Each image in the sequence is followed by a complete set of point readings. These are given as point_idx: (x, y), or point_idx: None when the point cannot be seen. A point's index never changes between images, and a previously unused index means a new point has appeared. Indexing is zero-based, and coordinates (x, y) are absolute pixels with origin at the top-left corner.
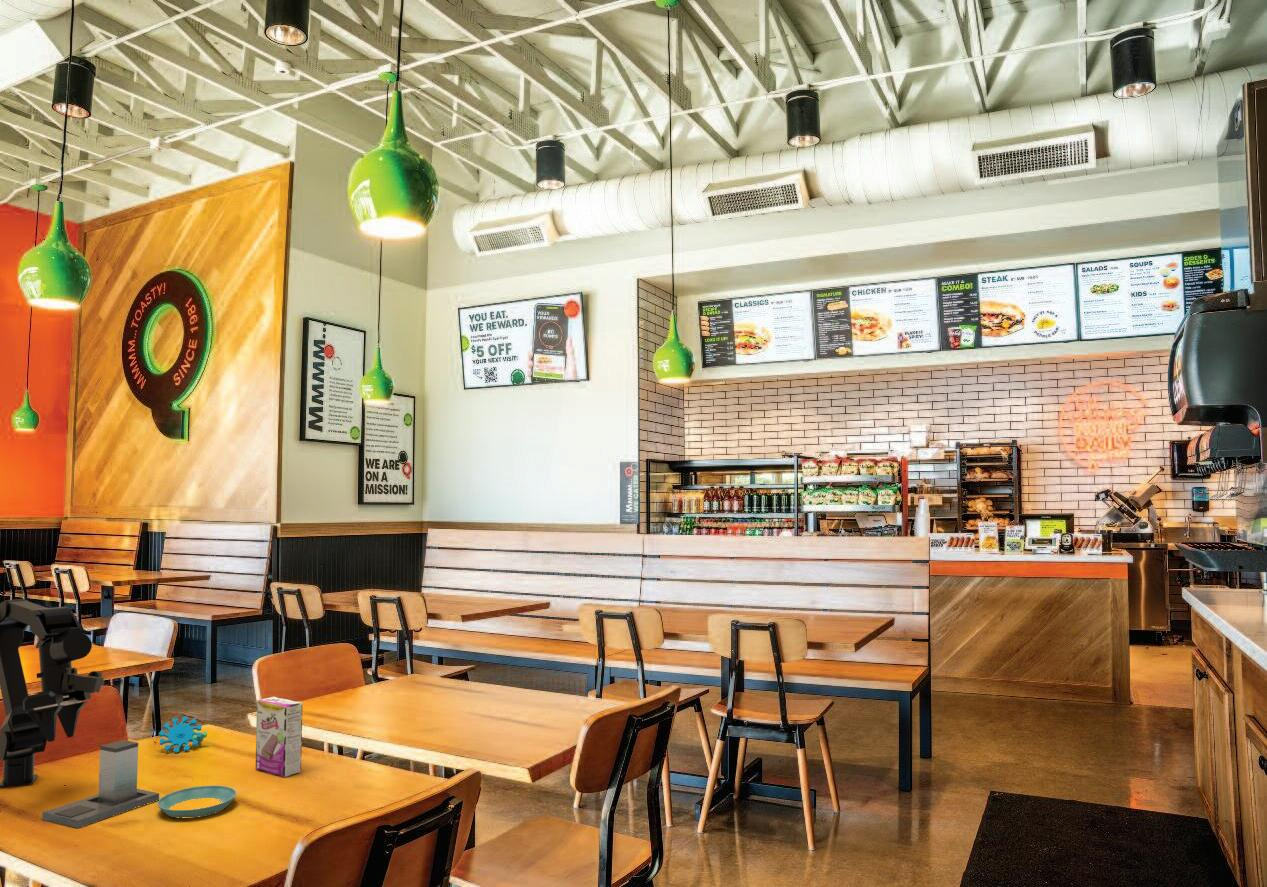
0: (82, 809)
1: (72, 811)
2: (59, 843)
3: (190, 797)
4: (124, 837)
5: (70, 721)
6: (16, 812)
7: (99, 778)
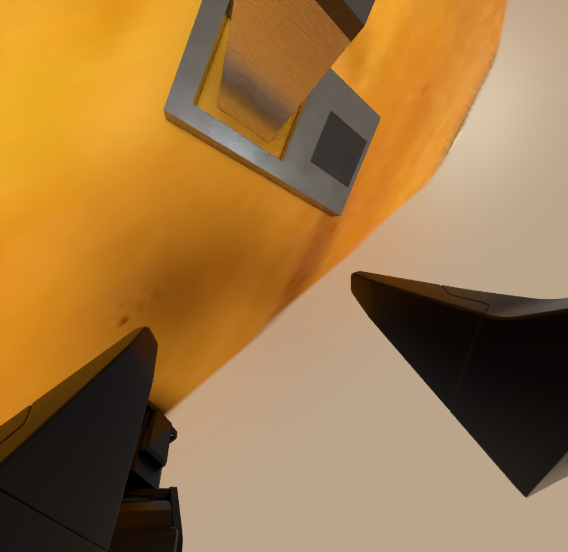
0: (333, 138)
1: (343, 154)
2: (416, 123)
3: None
4: (409, 8)
5: (102, 413)
6: (299, 287)
7: (295, 108)
